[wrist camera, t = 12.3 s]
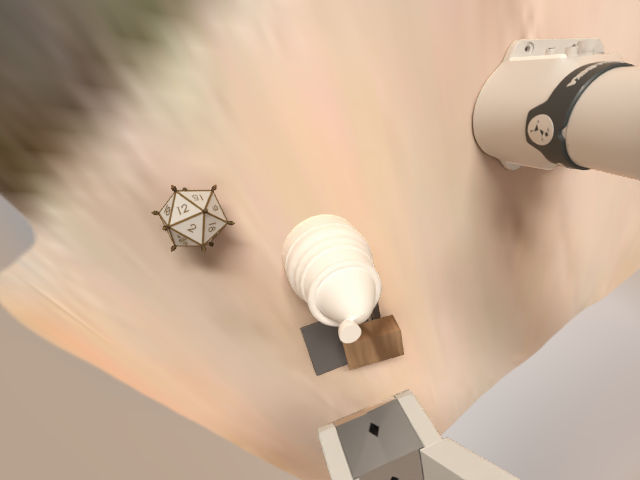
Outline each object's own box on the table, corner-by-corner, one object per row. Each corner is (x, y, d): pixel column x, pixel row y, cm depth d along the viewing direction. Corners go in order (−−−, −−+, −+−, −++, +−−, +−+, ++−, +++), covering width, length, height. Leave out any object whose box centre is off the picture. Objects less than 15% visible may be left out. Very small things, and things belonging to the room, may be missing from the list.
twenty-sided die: (208, 207, 49) (229, 266, 45) (144, 210, 44) (161, 276, 40) (224, 163, 43) (249, 226, 39) (151, 161, 38) (172, 233, 34)
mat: (364, 304, 60) (365, 305, 60) (374, 351, 66) (375, 353, 65) (300, 328, 59) (301, 329, 58) (316, 374, 64) (316, 375, 64)
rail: (374, 296, 60) (377, 300, 59) (384, 351, 67) (387, 355, 66) (368, 298, 60) (371, 302, 59) (379, 353, 66) (381, 357, 65)
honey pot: (307, 300, 57) (341, 385, 41) (265, 244, 50) (286, 319, 35) (372, 259, 57) (431, 329, 41) (338, 198, 50) (393, 252, 35)
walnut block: (400, 329, 57) (343, 345, 57) (404, 354, 60) (349, 369, 60) (392, 314, 61) (338, 329, 60) (396, 338, 64) (345, 352, 63)
